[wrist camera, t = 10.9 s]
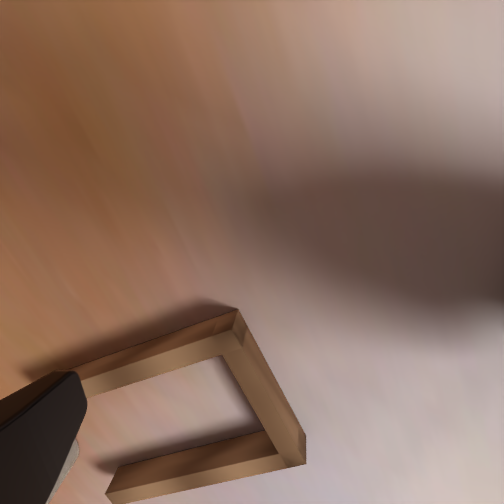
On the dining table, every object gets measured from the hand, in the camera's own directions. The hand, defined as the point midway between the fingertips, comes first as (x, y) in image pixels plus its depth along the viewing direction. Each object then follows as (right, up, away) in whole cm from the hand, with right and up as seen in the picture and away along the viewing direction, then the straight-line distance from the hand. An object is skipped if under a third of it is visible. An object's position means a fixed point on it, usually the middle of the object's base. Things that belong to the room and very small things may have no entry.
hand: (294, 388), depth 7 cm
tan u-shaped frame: (-6, -7, +17) cm, 19 cm away
